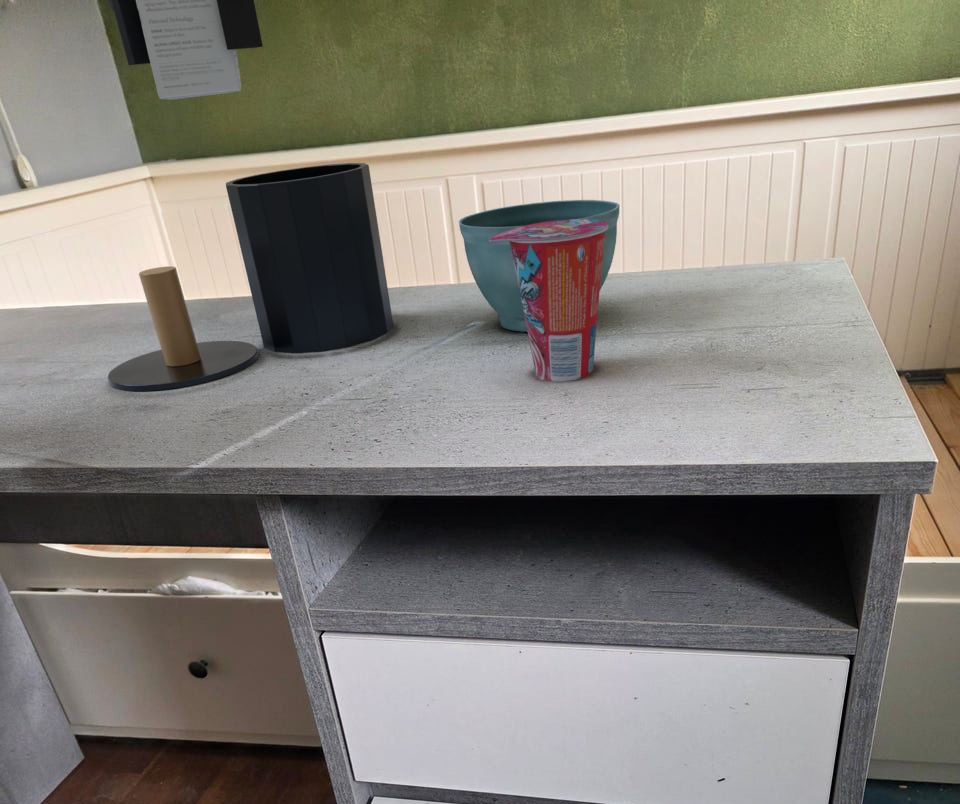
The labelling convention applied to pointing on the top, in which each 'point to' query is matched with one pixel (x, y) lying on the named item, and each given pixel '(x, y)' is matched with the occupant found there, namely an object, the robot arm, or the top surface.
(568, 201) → the flower pot
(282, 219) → the trash can
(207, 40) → the cosmetic box
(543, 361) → the cup
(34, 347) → the top surface
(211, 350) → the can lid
